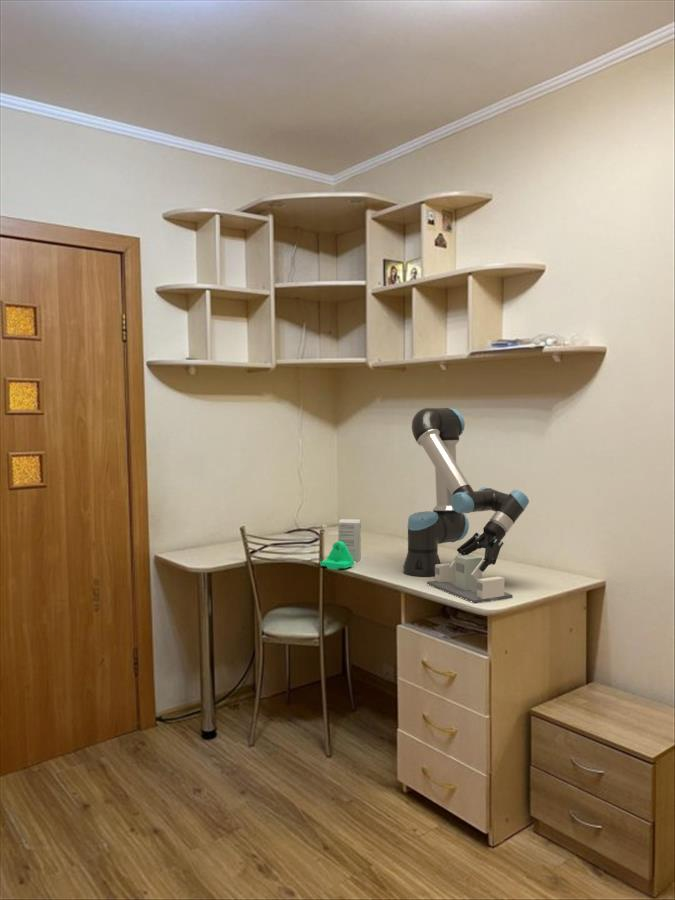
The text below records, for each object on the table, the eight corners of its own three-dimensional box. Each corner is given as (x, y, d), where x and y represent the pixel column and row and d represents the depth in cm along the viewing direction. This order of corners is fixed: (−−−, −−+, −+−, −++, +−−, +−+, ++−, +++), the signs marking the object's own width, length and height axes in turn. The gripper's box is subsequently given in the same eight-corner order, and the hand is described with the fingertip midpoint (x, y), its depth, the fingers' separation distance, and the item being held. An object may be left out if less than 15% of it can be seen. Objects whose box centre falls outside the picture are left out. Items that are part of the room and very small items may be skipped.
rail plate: (427, 584, 251) (427, 565, 250) (463, 579, 258) (463, 561, 257) (474, 603, 225) (474, 582, 225) (512, 597, 232) (512, 577, 232)
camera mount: (319, 568, 279) (319, 542, 278) (328, 564, 285) (328, 539, 285) (345, 571, 273) (345, 545, 272) (354, 567, 280) (354, 542, 279)
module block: (454, 587, 242) (454, 556, 242) (471, 584, 246) (471, 554, 245) (464, 591, 237) (464, 559, 237) (481, 588, 240) (481, 557, 240)
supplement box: (339, 557, 299) (339, 518, 298) (360, 557, 298) (360, 519, 297) (338, 561, 289) (338, 522, 289) (359, 562, 289) (359, 522, 288)
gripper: (526, 539, 236) (490, 587, 230) (482, 528, 258) (448, 572, 252) (514, 525, 234) (477, 573, 228) (471, 515, 256) (436, 559, 250)
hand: (462, 573), depth 240 cm, fingers open, 12 cm apart
